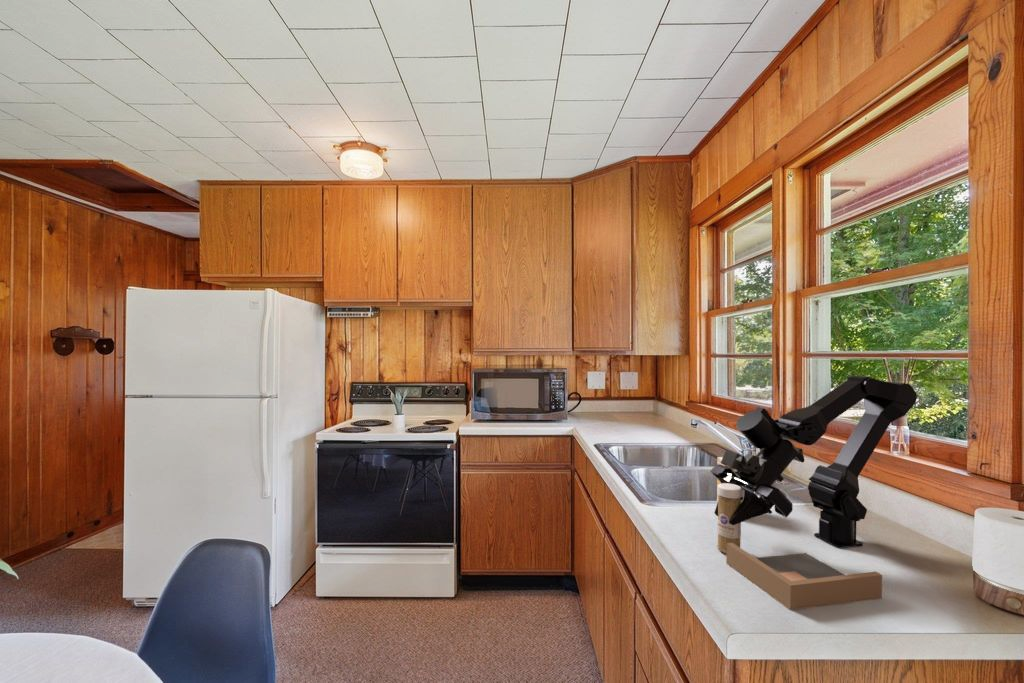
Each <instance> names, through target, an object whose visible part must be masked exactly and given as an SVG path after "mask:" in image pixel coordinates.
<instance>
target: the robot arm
mask: <svg viewBox="0 0 1024 683" xmlns="http://www.w3.org/2000/svg"><path fill="white" fill-rule="evenodd" d="M917 397H918V395H917V392H916V391H915V389H914V387H913V385H911V384H910V383H907V382H906V383H905V382H895V381H886V380H880V379H877V378H874V377H872V376H863V375H850V376H848V377H847V378H846V379H845V381H844V382H843V383H841V384H840V385H837V387H835V388H833V390H831V391H829V392H828V393H827V394H825V395H823V396H822V397H821V398H819V399H817V400H816V401H815V402H813V403H812V404H810V405H808V406H805V407H801V408H797V409H793V410H791V411H789V412H786V413H784V414H782V415H781V416H780V417H779V418H777V419H773V417H772V416H771V415H770V414H769V412H768V410H767V409H766V408H764V407H758V406H757V407H756V408H755V409H754V410H751V411H748V412H747V413H745V414H743V415H741V416H740V417H739V418H738V420H736V421H737V422H736V426H735V427H736V428H737V430H738V431H739V432H740V433H741V434H742V436H744V437H745V438H746V440H747V441H748V442H749V443H750V444H751V445H752V446H753V447H754V448H756V449H760V450H759V451H758V453H757V454H756V455H754V454H751V453H746V454H745V455H742V454H739V453H738V452H734V451H731V450H729V449H725V452H724V453H723V455H722V457H723V458H722V461H721V464H723V465H728V466H729V467H731V468H733V469H735V470H734V472H735V473H736V474H737V475H739V476H740V477H738V476H737V475H736V474H735V473H734V472H733V471H732V470H731V469H730V468H728V467H726V466H723V465H721V464H720V465H717V464H715V465H713V467H712V468H711V470H710V472H711V474H712V475H713V476H714V477H715V478H716V480H717V479H718V480H719V481H720V482H721V484H722V483H730V484H735V485H738V486H740V487H741V488H742V489H743V490H744V498H743V497H741V500H743V499H744V500H743V501H742V503H741V504H740V505H739V507H738V508H737V510H736V511H735V512H734V514H733V515H732V517H731V518H730V520H729V523H730V524H731V525H735V524H738V523H743V522H745V521H748V520H751V519H753V518H756V517H760V516H762V515H766V514H770V515H771V514H772V513H773V511H772V510H771V509H772V508H773V507H774V512H776V514H778V515H781V516H783V517H784V518H785V519H786V518H788V517H789V516H790V514H791V513H792V511H793V509H794V508H793V503H792V502H791V501H790V500H789V498H788V497H787V496H786V495H785V494H784V493H783V492H782V491H781V490H780V489H779V488H778V487H775V486H774V484H775V482H776V481H777V482H779V483H782V482H783V481H784V480H785V478H784V477H783V475H782V474H783V472H785V470H786V469H787V468H788V466H789V465H790V464H791V463H792V462H793V461H796V462H800V463H805V455H804V454H803V451H804V450H803V448H800V447H796V446H795V445H794V444H793V443H792V442H794V443H797V444H801V445H805V446H813V445H814V444H816V443H817V442H818V441H819V440H820V439H821V438H822V437H823V436H824V435H825V434H826V432H827V427H828V425H829V424H830V423H831V422H832V421H834V420H835V419H837V418H839V417H840V416H841V415H843V413H845V412H847V411H849V409H852V407H854V406H855V405H857V404H858V403H859V402H861V401H862V400H863V404H864V410H865V411H864V413H863V414H862V416H861V418H860V420H859V421H858V422H857V424H856V426H855V427H854V429H853V431H852V432H851V434H850V435H849V437H848V439H847V440H846V441H845V444H844V445H843V447H842V448H841V450H840V452H839V454H838V455H837V456H836V458H835V460H834V461H833V462H832V464H830V465H828V466H824V465H821V464H819V465H818V466H816V468H815V471H814V473H813V474H812V475H811V476H810V477H809V478H808V480H809V483H808V486H807V490H808V494H809V496H810V498H811V502H812V504H813V508H817V509H819V510H820V517H819V520H818V532H815V533H814V534H813V536H814V537H816V538H817V539H820V540H822V541H824V542H826V543H827V544H830V545H832V546H833V547H836V548H841V549H842V548H850V547H859V546H860V547H861V546H863V545H864V543H863V542H862V541H860V540H858V539H857V522H860V520H865V518H866V515H867V511H868V509H867V507H866V506H865V505H864V504H863V503H862V502H861V501H860V500H859V499H858V496H859V493H860V486H859V477H860V476H859V475H860V474H861V472H862V471H863V469H864V467H865V466H866V464H867V462H868V461H869V459H870V457H872V454H873V452H875V450H876V448H877V446H878V444H879V443H880V442H881V440H882V438H883V437H884V434H885V433H886V432H887V429H888V428H889V426H890V425H891V423H893V422H895V421H897V420H898V419H900V418H903V417H905V416H906V415H907V414H908V413H909V411H910V410H912V408H913V406H914V405H915V404H916V402H917V399H918V398H917ZM718 501H719V500H718ZM714 515H715V516H716V517H718V503H717V502H716V506H715V508H714Z"/></svg>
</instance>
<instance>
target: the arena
mask: <svg viewBox="0 0 1024 683" xmlns="http://www.w3.org/2000/svg"><path fill="white" fill-rule="evenodd" d="M726 565H727V566H729V567H730V568H732V569H733V570H734V571H736V572H737V573H739V574H740V575H742V576H743V577H745V579H747V580H749V581H750V582H751V583H752V584H754V585H756V586H757V587H758V588H760V589H761V590H762V591H764V592H765V593H766V594H768V595H769V596H771V597H772V598H773V599H775V600H776V601H777V602H779V603H780V604H782V606H784V607H785V608H786V609H788V610H789V611H791V610H801V609H807V608H808V609H809V608H817V607H824V606H831V605H840V604H846V603H848V604H849V603H855V602H861V601H863V602H864V601H870V600H877V599H882V598H883V574H881V573H880V572H878V571H866V572H859V573H851V574H845V573H843V572H841V571H839V570H837V569H835V568H834V567H832V566H830V565H828V564H827V563H825V562H823V561H822V560H821V561H820V560H819V559H817V558H816V557H814V556H812V555H810V554H808V552H804V553H803V552H801V553H792V554H783V555H782V554H781V555H770V556H761V557H755V556H753V555H751V553H749V552H748V551H745V550H744V549H743V548H741V546H740V547H738V546H736V545H735V544H733V543H727V554H726Z"/></svg>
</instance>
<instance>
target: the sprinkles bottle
mask: <svg viewBox="0 0 1024 683" xmlns="http://www.w3.org/2000/svg"><path fill="white" fill-rule="evenodd" d="M718 496H719V499H718V500H719V501H718V516H717V545H716V546H717V549H718V550H719V552H721V553H724V554H725V555H727V543H733V544H735V545H736V546H738V547H740V548H741V535H742V529H741V528H742V524H741V523H742V522H741V523H738V524H735V525H731V524H730V523H729V520H730V518H731V517H732V515H733V514H734V512H735V511H736V510H737V508H738V507H739V505H740V504H741V497H742V488H741V487H740V486H738V485H735V484H730V483H722V484H719V485H718Z"/></svg>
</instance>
